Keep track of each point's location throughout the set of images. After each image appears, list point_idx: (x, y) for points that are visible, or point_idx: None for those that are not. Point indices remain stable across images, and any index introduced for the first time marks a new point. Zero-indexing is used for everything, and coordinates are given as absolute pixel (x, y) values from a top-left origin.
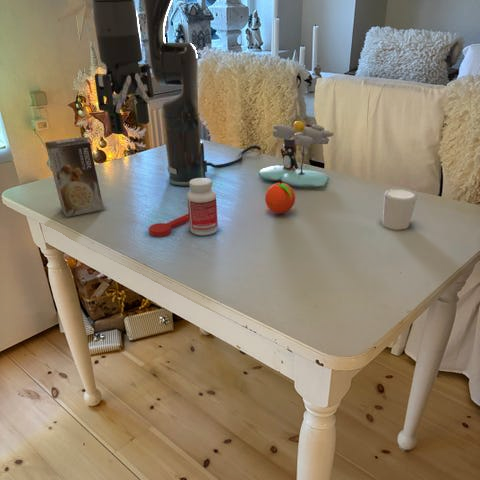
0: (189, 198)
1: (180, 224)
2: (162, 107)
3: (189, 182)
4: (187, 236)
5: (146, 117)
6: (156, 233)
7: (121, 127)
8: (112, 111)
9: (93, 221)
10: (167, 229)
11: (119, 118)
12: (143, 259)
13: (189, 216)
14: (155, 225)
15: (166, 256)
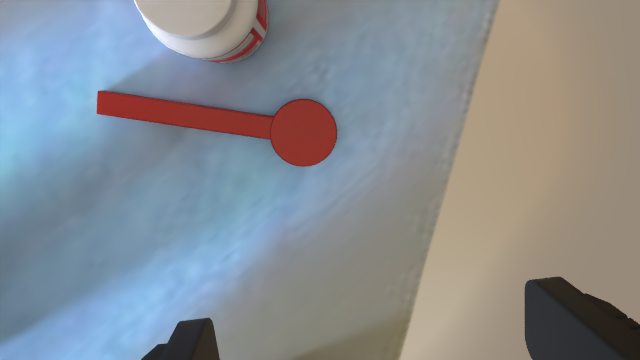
0: (253, 18)
1: (231, 110)
2: None
3: (218, 23)
4: (285, 40)
5: (198, 341)
6: (334, 121)
7: (576, 295)
8: None
9: (335, 342)
10: (305, 102)
11: (637, 339)
12: (463, 63)
13: (256, 39)
14: (299, 154)
15: (421, 16)
